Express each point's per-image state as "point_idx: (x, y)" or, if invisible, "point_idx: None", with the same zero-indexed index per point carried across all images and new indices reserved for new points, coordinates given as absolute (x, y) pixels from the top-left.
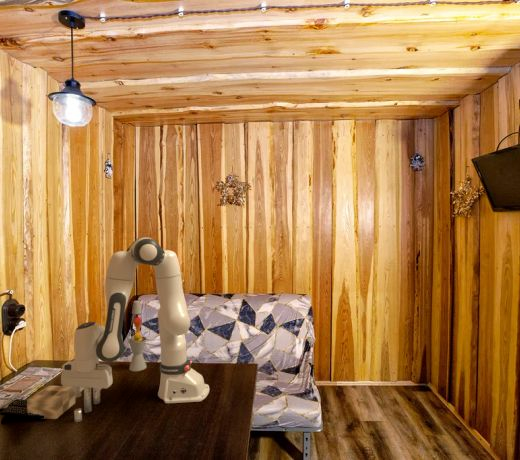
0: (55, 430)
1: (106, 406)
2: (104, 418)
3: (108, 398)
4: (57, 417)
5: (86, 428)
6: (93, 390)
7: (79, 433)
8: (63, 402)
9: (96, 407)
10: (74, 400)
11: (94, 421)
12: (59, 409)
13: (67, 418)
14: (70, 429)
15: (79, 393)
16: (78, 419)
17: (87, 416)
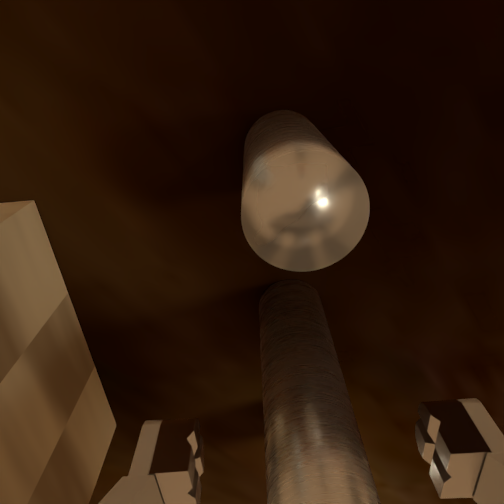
0: (224, 499)
1: (439, 205)
2: (498, 368)
3: (380, 13)
4: (112, 419)
5: (413, 464)
6: (271, 258)
7: (394, 498)
8: (49, 441)
9: None
10: (19, 227)
11: None
12: (85, 448)
13: (194, 407)
14: None
15: (196, 495)
16: None
17: None
